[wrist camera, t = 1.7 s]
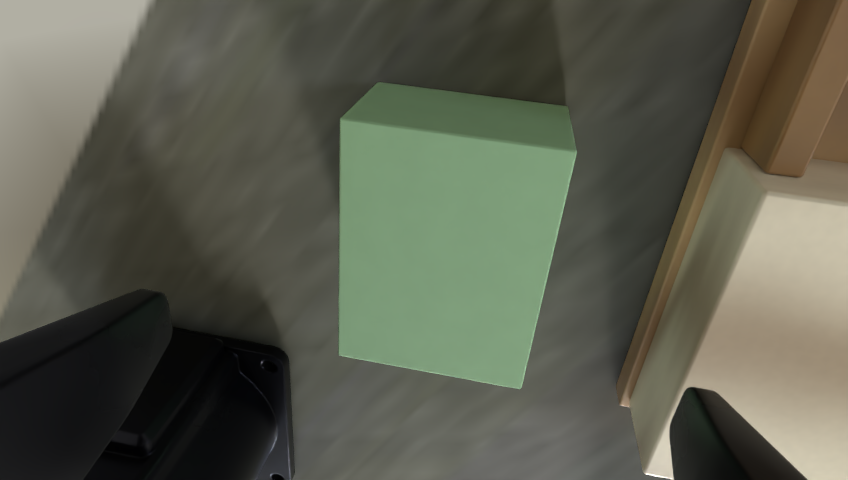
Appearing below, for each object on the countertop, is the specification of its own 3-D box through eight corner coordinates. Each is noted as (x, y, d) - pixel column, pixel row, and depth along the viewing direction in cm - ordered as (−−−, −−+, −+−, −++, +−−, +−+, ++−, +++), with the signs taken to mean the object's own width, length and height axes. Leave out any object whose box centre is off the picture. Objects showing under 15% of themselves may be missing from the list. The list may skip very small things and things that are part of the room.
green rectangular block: (523, 314, 16) (521, 390, 13) (369, 287, 16) (337, 356, 13) (569, 105, 13) (577, 150, 10) (377, 81, 13) (339, 117, 10)
